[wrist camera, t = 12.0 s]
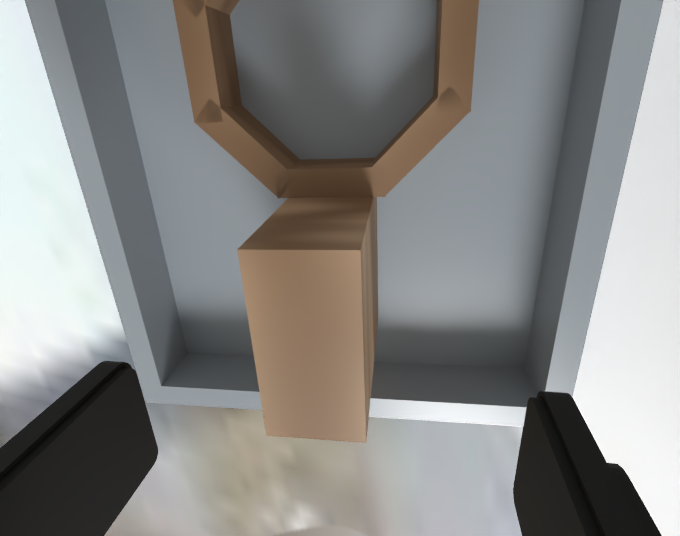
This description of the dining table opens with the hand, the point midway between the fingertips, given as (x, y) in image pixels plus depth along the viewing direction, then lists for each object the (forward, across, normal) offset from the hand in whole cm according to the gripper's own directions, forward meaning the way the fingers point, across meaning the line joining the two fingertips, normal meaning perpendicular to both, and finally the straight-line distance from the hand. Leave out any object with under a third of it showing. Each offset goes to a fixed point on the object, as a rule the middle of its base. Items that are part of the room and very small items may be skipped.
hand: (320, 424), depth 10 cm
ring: (+8, +1, -6) cm, 10 cm away
